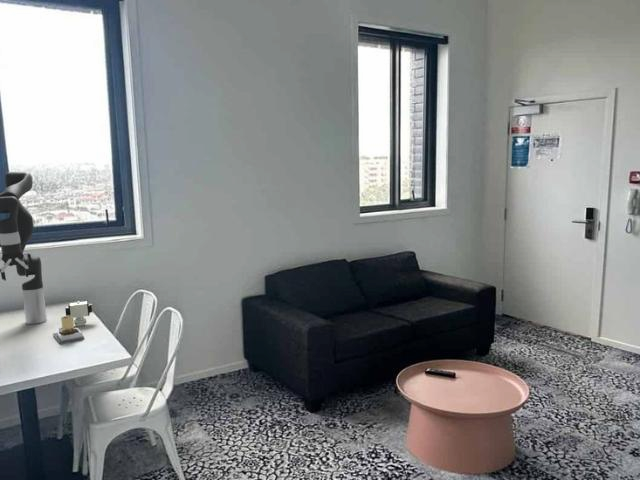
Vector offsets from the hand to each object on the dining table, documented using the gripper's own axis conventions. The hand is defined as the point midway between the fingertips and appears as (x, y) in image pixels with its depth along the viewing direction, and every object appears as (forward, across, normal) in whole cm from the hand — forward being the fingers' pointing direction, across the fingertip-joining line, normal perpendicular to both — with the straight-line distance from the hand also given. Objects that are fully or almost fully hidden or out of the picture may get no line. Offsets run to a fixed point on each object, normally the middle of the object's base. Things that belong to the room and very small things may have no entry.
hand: (16, 278), depth 231 cm
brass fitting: (+27, -16, +12) cm, 34 cm away
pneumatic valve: (+30, -24, -8) cm, 40 cm away
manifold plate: (+29, -16, +10) cm, 34 cm away
